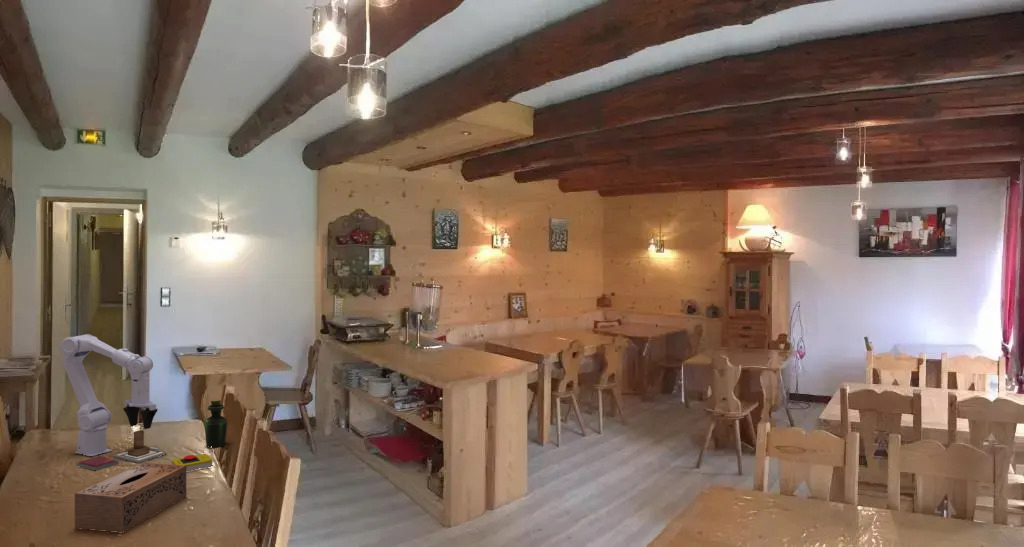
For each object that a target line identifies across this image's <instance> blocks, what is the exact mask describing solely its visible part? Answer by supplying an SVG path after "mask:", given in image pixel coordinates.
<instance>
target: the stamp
mask: <svg viewBox="0 0 1024 547" xmlns="http://www.w3.org/2000/svg"><path fill="white" fill-rule="evenodd" d="M144 432H145V430H134V431H133V447H129V448H127V451H128V455H130V456H135V457H138V456H142V455H145V454H148V453H149V452H150V447H151V446H147V445H145V435H144V434H145V433H144Z"/></svg>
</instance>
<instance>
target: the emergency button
mask: <svg viewBox="0 0 1024 547" xmlns="http://www.w3.org/2000/svg"><path fill="white" fill-rule="evenodd" d="M171 464H172V465H184V466H186V471H191V470H195V469H199V468H205V467H211V466H213V465H212V458H211V457H210V456H209V454H207V453H201V454H189V455H185V456H183V457H177V458H172V460H171Z"/></svg>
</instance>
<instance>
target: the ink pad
mask: <svg viewBox="0 0 1024 547" xmlns="http://www.w3.org/2000/svg"><path fill="white" fill-rule="evenodd" d="M75 464H76V467H77V466H80V467H79V468H81V467H83V468H82V469H85V468H87V469H86V470H89V469H91V471H93V470H96V471H99V470H102V468H103V469H105V468H108V467H112V466H115V465H119V459H115V458H109V457H104V456H100V455H97V456H93V457H92V458H91V457H90V458H87V459H84V460H80V461H78V462H76V463H75ZM98 469H99V470H98Z"/></svg>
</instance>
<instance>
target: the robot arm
mask: <svg viewBox="0 0 1024 547" xmlns="http://www.w3.org/2000/svg"><path fill="white" fill-rule="evenodd" d="M59 349H60V352H61V355H62V364H63V367H64V370H65V371H66V375H67V376H68V377H67V378H68V380H69V381H70V385H71V387H72V390H73V391H74V395H75V396H76V400H77V402H78V403H79V409H78V410H77V412H76V416H77V425H78V427H79V429H80V430H79V432H78V433H77V436H76V437H77V439H76V440H77V442H76V443H77V446H76V447H77V448H76V449H77V451H75V452H74V454H77V453H78V455H81V454H83V455H82V456H85V455H86V457H89V456H92V457H96V456H99V455H102V453H103V454H105V453H109V452H112V449H111V448H107V427H108V424H109V423H110V421H111V420H112V414H111V411H110V410H109V409H108V408H107V407H106V404H104V403H103V402H101V401H99V400H98V398H97V396H96V393H95V391H94V389H93V386H92V384H91V383H92V382H91V381H90V378H89V376H88V374H87V372H86V369H85V368H86V367H85V366H84V364H83V361H84V359H85V357H87V356H88V354H90V352H92V351H93V352H95V353H98V354H100V355H103V356H105V357H109V358H111V361H112V363H113V364H115V365H118V366H120V367H122V368H124V369H126V370H127V371H128V373H129V375H130V378H131V395H130V398H131V399H126V400H124V406H125V407H123V412H125V414H126V416H127V419H128V422H129V426H130V427H135V426H137V424H138V421H139V413H140V415H141V418H142V425H143V429H144V430H147V429H151V427H152V425H153V420H154V418H155V416H156V414H157V412H158V408H157V404H156V403H154V402H152V401H151V400H150V388H151V387H150V382H151V381H150V375H151V374H150V373H151V371H152V369H153V367H154V363H153V360H152V359H151V358H150V357H149V356H146V355H145V356H140V355H139V354H138V353H137V354H135V353H133V352H131V351H129V349H128V348H119V349H117V348H114V347H113V346H111V345H109V344H107V343H105V342H103V341H101V340H99V339H98V337H97V336H94V335H92V334H89V333H86V334H82V335H76V336H67V337H65V338H64V339H63V340H62V342H61V343H60V345H59ZM140 409H141V410H140ZM98 454H99V455H98Z"/></svg>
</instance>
